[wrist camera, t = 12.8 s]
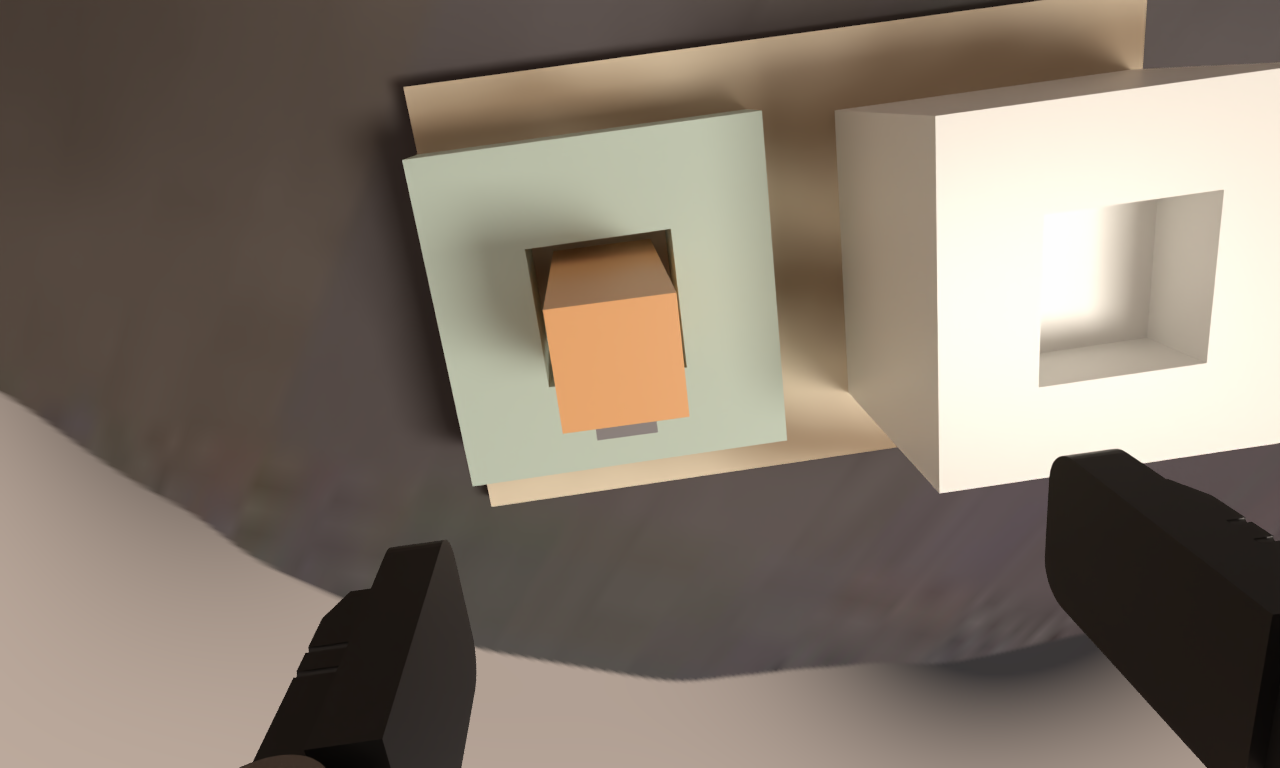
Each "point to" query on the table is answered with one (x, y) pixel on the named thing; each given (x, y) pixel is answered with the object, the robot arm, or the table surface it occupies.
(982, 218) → the white socket block
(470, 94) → the jack board
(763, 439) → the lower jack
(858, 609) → the table surface
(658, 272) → the plug
